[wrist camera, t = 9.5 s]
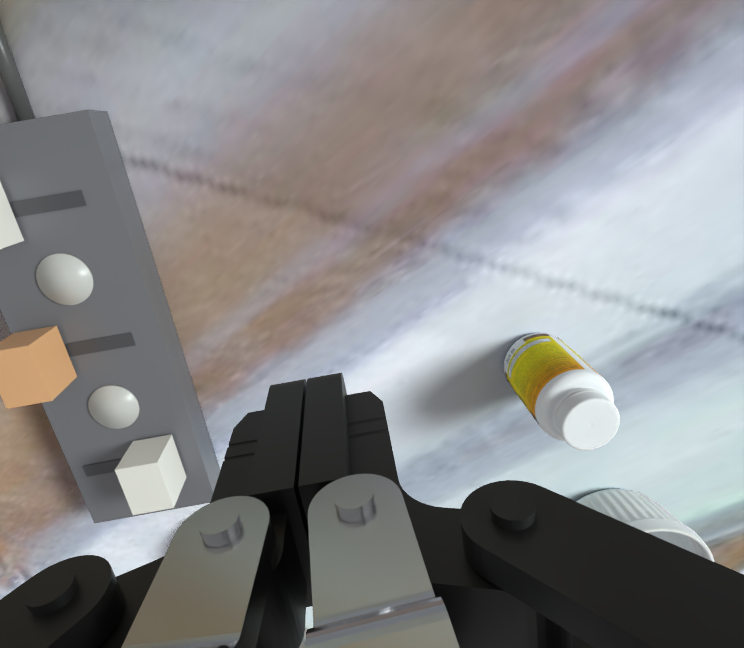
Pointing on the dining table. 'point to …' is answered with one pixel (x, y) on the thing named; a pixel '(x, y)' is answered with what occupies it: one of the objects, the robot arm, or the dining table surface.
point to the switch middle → (34, 367)
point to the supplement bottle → (562, 391)
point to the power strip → (95, 301)
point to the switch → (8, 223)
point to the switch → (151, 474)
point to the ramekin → (646, 517)
